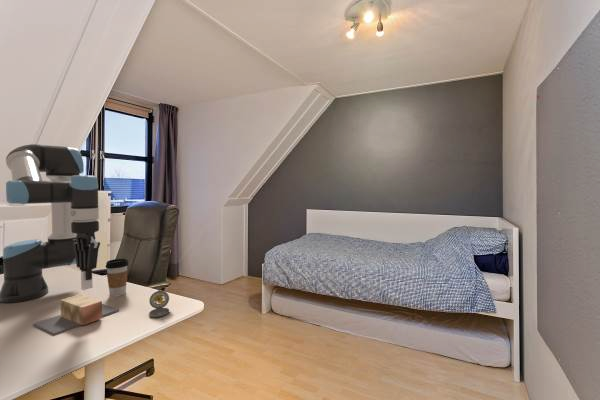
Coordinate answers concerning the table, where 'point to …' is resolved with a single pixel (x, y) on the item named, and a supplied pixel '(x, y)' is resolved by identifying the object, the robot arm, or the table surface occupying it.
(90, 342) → the table surface
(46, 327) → the rubber mat
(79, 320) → the oak block
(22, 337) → the table surface
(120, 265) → the coffee cup
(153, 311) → the pocket watch
